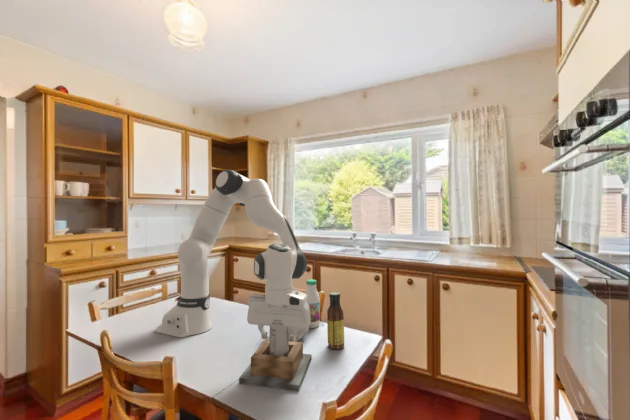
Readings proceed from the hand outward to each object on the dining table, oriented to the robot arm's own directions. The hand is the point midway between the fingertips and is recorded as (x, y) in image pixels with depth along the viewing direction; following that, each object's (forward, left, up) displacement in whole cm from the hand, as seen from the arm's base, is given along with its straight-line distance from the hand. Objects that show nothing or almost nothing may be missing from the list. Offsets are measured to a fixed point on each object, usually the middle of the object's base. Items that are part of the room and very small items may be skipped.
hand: (278, 339), depth 91 cm
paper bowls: (-3, +24, -10) cm, 26 cm away
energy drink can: (0, 0, -8) cm, 8 cm away
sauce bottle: (+16, +20, -10) cm, 27 cm away
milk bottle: (+3, +38, -10) cm, 39 cm away
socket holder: (0, 0, -10) cm, 10 cm away
